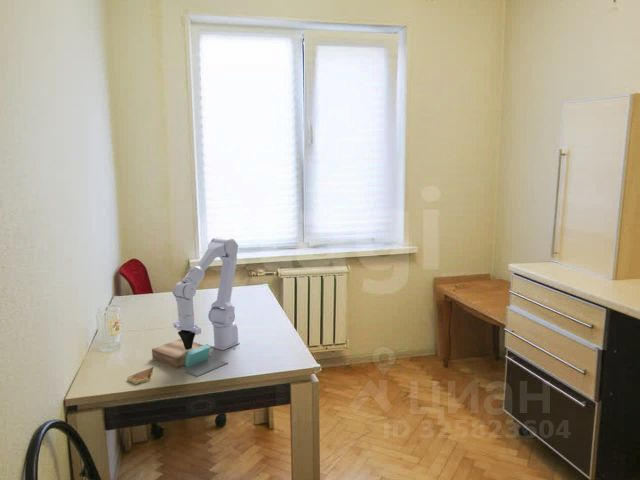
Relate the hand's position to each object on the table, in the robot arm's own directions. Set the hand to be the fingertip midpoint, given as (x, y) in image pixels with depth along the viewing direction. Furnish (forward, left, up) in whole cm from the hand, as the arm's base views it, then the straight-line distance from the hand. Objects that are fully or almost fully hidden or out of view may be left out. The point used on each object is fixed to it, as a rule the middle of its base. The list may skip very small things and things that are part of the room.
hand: (188, 348), depth 188 cm
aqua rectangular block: (0, +4, -1) cm, 5 cm away
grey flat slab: (0, +8, -5) cm, 10 cm away
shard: (+19, -3, -6) cm, 20 cm away
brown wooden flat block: (0, -6, -5) cm, 8 cm away
